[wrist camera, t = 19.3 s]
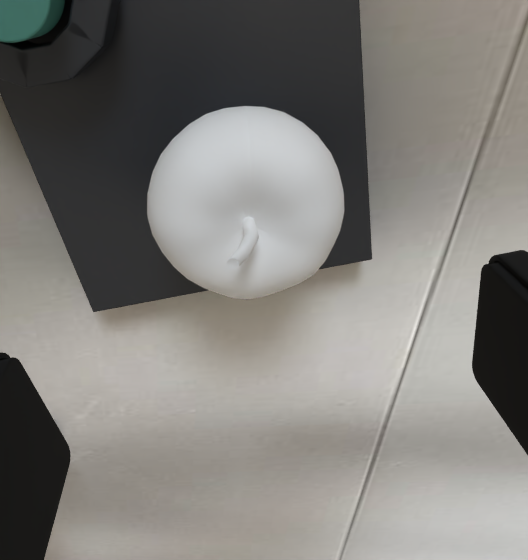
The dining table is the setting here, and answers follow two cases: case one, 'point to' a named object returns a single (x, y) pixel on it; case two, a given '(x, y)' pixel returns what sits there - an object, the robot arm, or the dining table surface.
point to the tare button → (28, 18)
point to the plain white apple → (246, 202)
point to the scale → (174, 116)
